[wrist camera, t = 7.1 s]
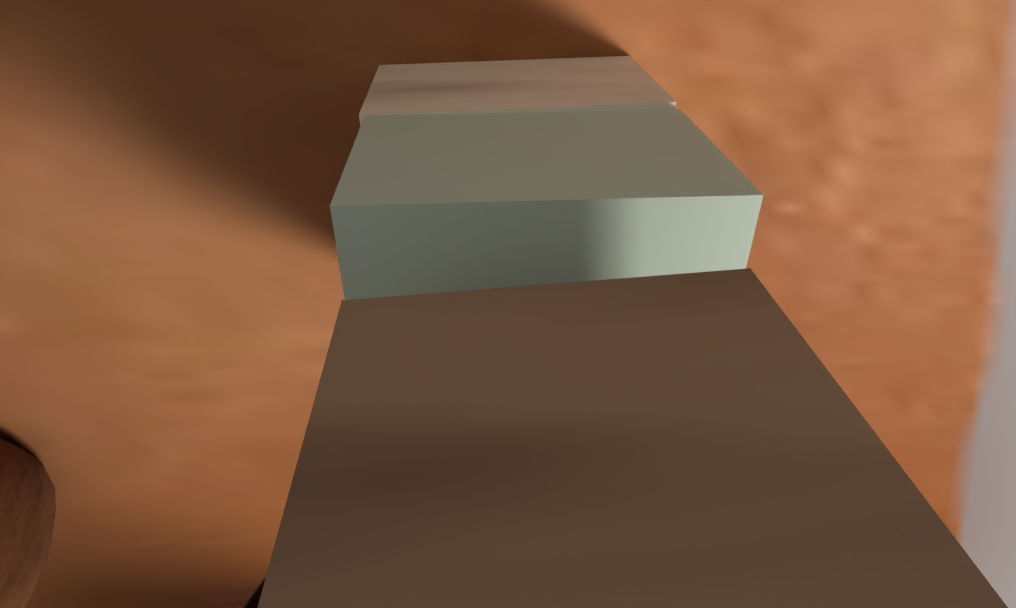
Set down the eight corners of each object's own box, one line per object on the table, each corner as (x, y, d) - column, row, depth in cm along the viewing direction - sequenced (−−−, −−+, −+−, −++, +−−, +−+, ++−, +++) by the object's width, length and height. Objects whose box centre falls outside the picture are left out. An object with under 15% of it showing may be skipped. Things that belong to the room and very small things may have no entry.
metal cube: (702, 528, 11) (860, 944, 6) (401, 556, 11) (364, 996, 6) (750, 268, 8) (1077, 700, 4) (342, 300, 8) (207, 784, 4)
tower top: (643, 356, 16) (693, 485, 12) (394, 366, 15) (378, 502, 12) (680, 109, 12) (763, 195, 9) (364, 114, 12) (330, 205, 9)
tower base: (612, 268, 19) (645, 351, 16) (406, 278, 19) (396, 365, 15) (628, 54, 16) (675, 101, 12) (379, 63, 15) (358, 115, 12)
